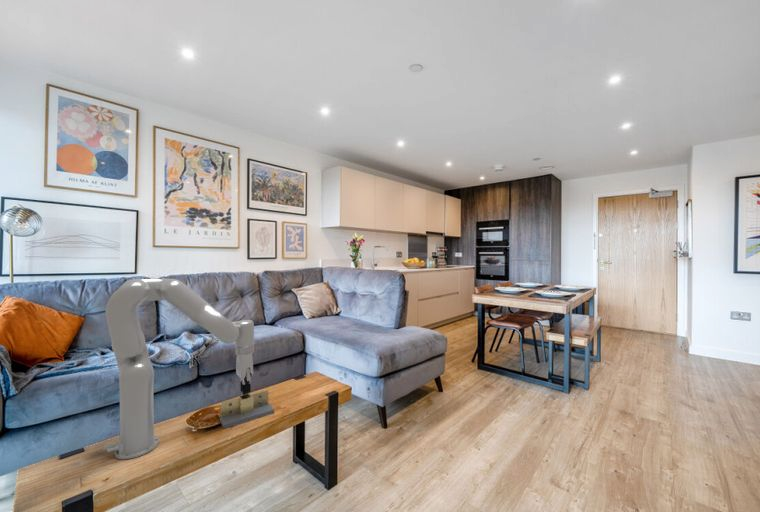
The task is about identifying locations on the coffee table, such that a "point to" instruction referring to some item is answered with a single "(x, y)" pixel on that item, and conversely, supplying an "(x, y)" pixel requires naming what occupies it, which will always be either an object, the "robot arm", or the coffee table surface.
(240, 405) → the hinge
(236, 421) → the base plate
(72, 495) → the coffee table surface
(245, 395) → the hinge pin
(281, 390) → the coffee table surface
